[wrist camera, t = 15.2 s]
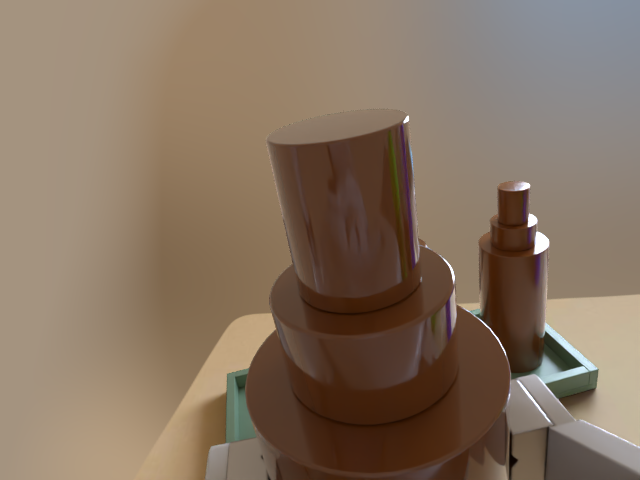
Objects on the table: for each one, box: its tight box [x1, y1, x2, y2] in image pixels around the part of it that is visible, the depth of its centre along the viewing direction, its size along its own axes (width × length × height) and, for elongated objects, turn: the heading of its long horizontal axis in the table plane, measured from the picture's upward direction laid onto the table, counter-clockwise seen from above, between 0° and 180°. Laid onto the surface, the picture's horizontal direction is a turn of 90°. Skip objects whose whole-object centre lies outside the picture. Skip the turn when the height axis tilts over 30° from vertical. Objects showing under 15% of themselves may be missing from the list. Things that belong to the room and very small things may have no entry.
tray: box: [226, 309, 598, 443], centre depth 41 cm, size 32×12×2 cm, turn 100°
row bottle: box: [478, 181, 549, 373], centre depth 39 cm, size 6×6×17 cm
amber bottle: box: [245, 109, 511, 480], centre depth 11 cm, size 6×6×17 cm
